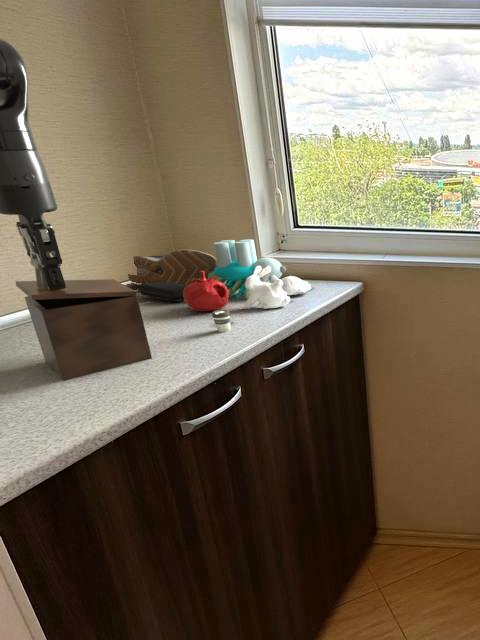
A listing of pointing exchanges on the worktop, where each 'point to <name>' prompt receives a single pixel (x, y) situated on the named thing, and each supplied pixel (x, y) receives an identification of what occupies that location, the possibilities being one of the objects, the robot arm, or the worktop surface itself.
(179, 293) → the carrying case
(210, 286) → the pomegranate
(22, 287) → the lid
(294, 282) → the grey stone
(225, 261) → the toy
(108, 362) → the chest
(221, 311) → the grey ridged cylinder
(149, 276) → the athletic shoe
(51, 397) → the worktop surface
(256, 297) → the rabbit figurine
